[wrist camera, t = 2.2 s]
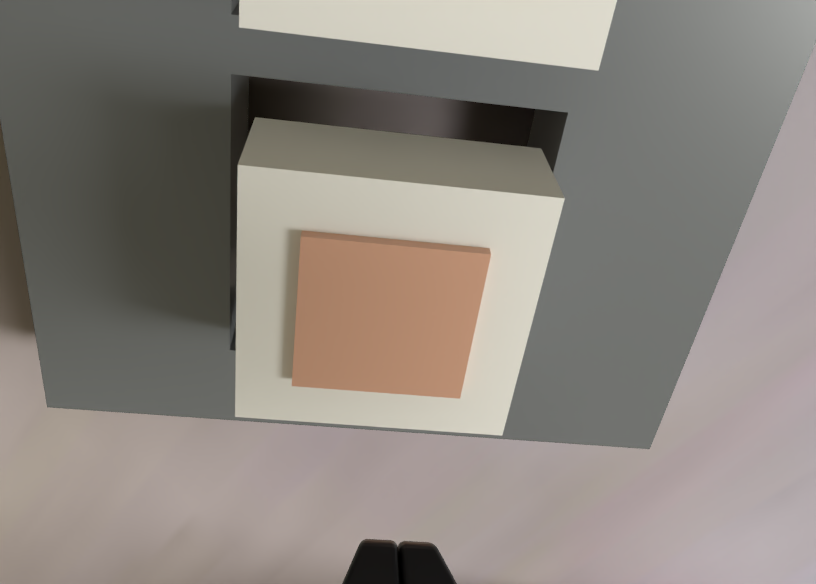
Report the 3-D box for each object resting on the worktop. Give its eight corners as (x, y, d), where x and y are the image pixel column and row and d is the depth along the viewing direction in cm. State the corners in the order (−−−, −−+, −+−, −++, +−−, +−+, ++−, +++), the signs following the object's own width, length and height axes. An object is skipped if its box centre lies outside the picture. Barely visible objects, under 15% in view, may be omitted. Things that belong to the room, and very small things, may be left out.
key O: (541, 148, 14) (567, 204, 12) (488, 369, 16) (504, 442, 14) (255, 117, 13) (235, 170, 11) (249, 350, 16) (233, 424, 14)
